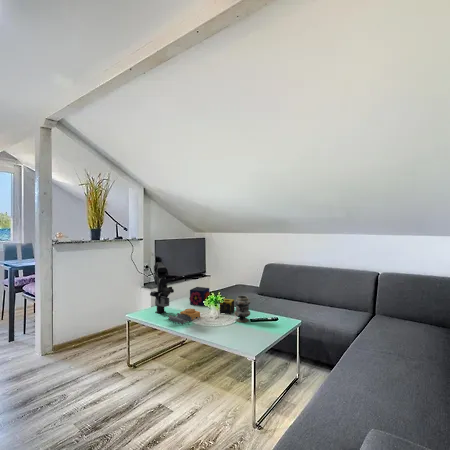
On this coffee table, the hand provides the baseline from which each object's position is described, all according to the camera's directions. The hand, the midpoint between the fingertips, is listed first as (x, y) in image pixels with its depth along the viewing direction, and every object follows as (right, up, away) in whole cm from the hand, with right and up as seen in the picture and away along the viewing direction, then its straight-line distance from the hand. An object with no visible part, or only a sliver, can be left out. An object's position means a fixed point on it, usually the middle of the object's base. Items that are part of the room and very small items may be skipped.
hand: (162, 303), depth 235 cm
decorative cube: (+26, -11, +41) cm, 50 cm away
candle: (+51, -11, +13) cm, 54 cm away
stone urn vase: (+62, -11, -8) cm, 64 cm away
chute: (0, -2, 0) cm, 2 cm away
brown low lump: (+21, -11, +2) cm, 24 cm away
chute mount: (+15, -11, -5) cm, 19 cm away
